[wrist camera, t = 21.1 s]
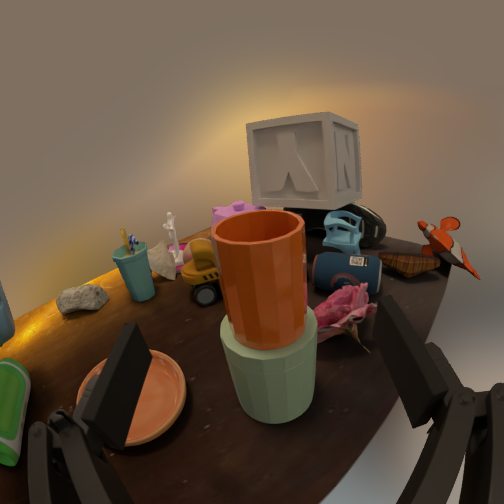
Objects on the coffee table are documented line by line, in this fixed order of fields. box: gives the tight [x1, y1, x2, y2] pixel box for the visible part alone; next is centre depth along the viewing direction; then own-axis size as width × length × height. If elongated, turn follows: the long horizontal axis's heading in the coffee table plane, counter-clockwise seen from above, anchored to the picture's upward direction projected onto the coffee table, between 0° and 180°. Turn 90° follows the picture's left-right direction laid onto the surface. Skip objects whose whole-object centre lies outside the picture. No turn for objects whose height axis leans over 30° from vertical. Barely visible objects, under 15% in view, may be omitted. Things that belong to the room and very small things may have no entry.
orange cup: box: [210, 210, 307, 350], centre depth 24 cm, size 7×7×10 cm
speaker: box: [0, 358, 31, 466], centre depth 22 cm, size 18×7×8 cm
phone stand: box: [323, 211, 362, 255], centre depth 53 cm, size 8×8×12 cm
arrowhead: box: [147, 240, 176, 280], centre depth 60 cm, size 8×2×10 cm
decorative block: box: [246, 112, 362, 210], centre depth 59 cm, size 19×19×20 cm
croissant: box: [378, 252, 440, 278], centre depth 48 cm, size 14×7×5 cm
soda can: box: [312, 252, 382, 296], centre depth 47 cm, size 7×7×12 cm
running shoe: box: [283, 202, 386, 247], centre depth 69 cm, size 11×29×12 cm
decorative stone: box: [56, 284, 109, 314], centre depth 52 cm, size 12×11×5 cm
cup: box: [112, 228, 155, 302], centre depth 52 cm, size 14×8×15 cm, turn 42°
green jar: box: [220, 306, 318, 424], centre depth 29 cm, size 9×9×12 cm
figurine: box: [163, 212, 184, 266], centre depth 63 cm, size 7×7×12 cm
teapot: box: [211, 201, 266, 230], centre depth 64 cm, size 20×12×13 cm, turn 46°
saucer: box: [77, 350, 186, 446], centre depth 30 cm, size 16×16×3 cm
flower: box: [313, 283, 377, 353], centre depth 37 cm, size 11×10×10 cm
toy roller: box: [181, 239, 223, 306], centre depth 52 cm, size 9×14×10 cm, turn 109°
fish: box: [418, 217, 480, 280], centre depth 48 cm, size 20×12×15 cm
